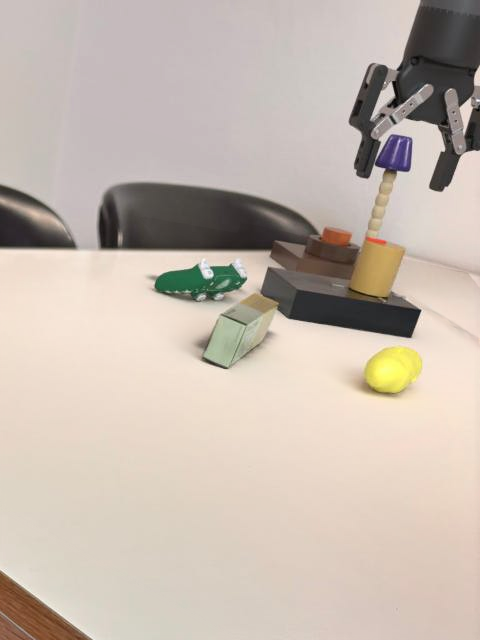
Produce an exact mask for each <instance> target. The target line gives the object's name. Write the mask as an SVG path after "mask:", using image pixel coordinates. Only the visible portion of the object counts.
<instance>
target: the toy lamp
mask: <svg viewBox="0 0 480 640" xmlns="http://www.w3.org/2000/svg"><path fill="white" fill-rule="evenodd" d="M413 141H414V140H413V138H412V137H411V136H407V135H401V134H395V133H392V134H390V135H389V136H388V138H387V139H386V141H385V143H384V145H383V146H382V148H381V150H380V152H379V153H378V154H377V157H376V160H375V163H374V166H375V167H376V168H381V169H384V171H383V173H382V181H381V182H380V184H379V186H378V193H377V195H375V196H376V197H375V199H374V204H375V205H373V207H372V209H371V212H370V214H371V216H370V218H369V220H368V222H367V229H366V231H365V233H364V239H366V237H370V238H375V239H379V230H380V229H381V228H382V225H383V218H384V217H385V215H386V209H387V208H386V207H387V205H388V204H389V201H390V194H391V193H392V191H393V188H394V182H395V181H396V179H397V176H398V172H401V173H409V172H411V168H412V158H413V144H414V142H413ZM362 245H363V243H362V244H361V246H362ZM359 254H360V251H359ZM359 254H358V255H359Z"/></svg>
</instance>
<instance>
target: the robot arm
mask: <svg viewBox="0 0 480 640" xmlns="http://www.w3.org/2000/svg"><path fill="white" fill-rule="evenodd" d="M479 67H480V0H419V4H418V8H417V10H416V13H415V16H414V20H413V22H412V26H411V28H410V32H409V35H408V38H407V41H406V44H405V48H404V50H403V56H402V59H401V61H400V64H399V65H398V67H397V68H396V69H393V68H389V67H388V66H387V65H386V64H381V63H377V62H372V63H370V64H369V65H368V67H367V68H366V71H365V74H364V76H363V79H362V82H361V85H360V88H359V90H358V93H357V95H356V99H355V102H354V104H353V106H352V110H351V112H350V115H349V118H348V124H349V126H351V127H353V128H354V129H355V130H357V131H358V132H360V135H361V139H360V143H359V146H358V149H357V152H356V155H355V158H354V162H353V170H356V171H355V176H356V177H359V178H360V179H365V180H369V178H370V177H371V175H372V171H373V169H374V166H375V161H376V159H377V157H378V155H379V150H380V148H381V144H382V141H381V140H380V139H381V138H382V137H383V136H384V135H385V134H386V133H387V132H388V131H390V129H392V128H393V127H394V126H396V125H398V124H399V123H401V122H402V121H403V120H404V119H405V120H409V121H414V122H424V123H426V124H430V125H435V126H437V129H438V131H439V132H440V134H441V138H442V143H443V145H444V146H443V147H444V150H443V151H442V150H441V151H440V153H439V156H438V158H437V161H436V164H435V167H434V170H433V173H432V175H431V178H430V181H429V184H428V188H429V190H431V191H434V192H438V193H442V192H444V190H445V188H448V187H449V186H450V184H451V183H452V181H453V178H454V176H455V173H456V170H457V168H458V164H459V162H460V159H461V157H462V156H463V155H464V154H465V153H468V152H472V151H475V152H480V85H475V76H476V73H477V71H478V70H479V69H480V68H479ZM390 83H391V85H392V89H393V94H394V96H392V97H391V98H390V99H389V100H388V101H387V102H386V103H385V104H383V106H381V108H380V109H379V110H378V112H377V113H376V115H374V116H373V114H374V111H375V108H376V106H377V103H378V100H379V99H380V95H381V92H382V91H384V90H386V89H387V88H388V85H389V84H390ZM469 99H470V106H471V108H472V109H471V112H470V116H469V118H468V122H467V126H466V128H465V126H464V122H463V117H462V113H461V109H460V108H461V107H462V106H463V105H464V104H465V103H466V102H468V101H469ZM464 129H465V132H464Z"/></svg>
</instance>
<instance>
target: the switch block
mask: <svg viewBox="0 0 480 640" xmlns="http://www.w3.org/2000/svg"><path fill="white" fill-rule="evenodd" d="M321 236H322V234H310V235H309V236H308V238H307V240H306V244H298V243H294V242H293V243H292V242H286V241H282V240H274V241H273V243H272V247H271V250H270V254H269V258H271V260H273V261H275V262H276V263H277V264H279V265H280V266H281V267H283V269H286V270H292V271H298V272H304V273H310V274H316V275H321V276H327V277H333V278H339V279H345V280H351V277H352V275H353V272H354V269H355V266H356V263H357V260H358V257H359V255H358V254H359V252H360V251H361V248H362V246H359V245H358V244H356V243H353V242H351V241H350V243H349V246H342V245H337V244H333V243H329V242H325V241H323V240H321Z"/></svg>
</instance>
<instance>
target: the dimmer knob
mask: <svg viewBox="0 0 480 640" xmlns="http://www.w3.org/2000/svg"><path fill="white" fill-rule="evenodd" d="M362 244H363V245H362ZM362 244H361V248H360V251H359V252H360V254H359V257H358V260H357V263H356V266H355V269H354V272H353V275H352V277H351V280H350V283H349V287H350V288H351V289H353V290H355V291H357V292H360V293H363V294H367V295H371V296H376V297H389V295H390V292H391V291H393V290H392V289H393V287H394V284H395V281H396V278H397V276H398V273H399V270H400V267H401V265H402V262H403V258H404V257H405V253H406V251H407V248H406V247H405V246H403V245H400V244H397V243H395V242H390V241H387V240H385V239H380V238H377V239H375V238H370V237H366V239H365V238H364V239H363V242H362Z"/></svg>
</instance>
